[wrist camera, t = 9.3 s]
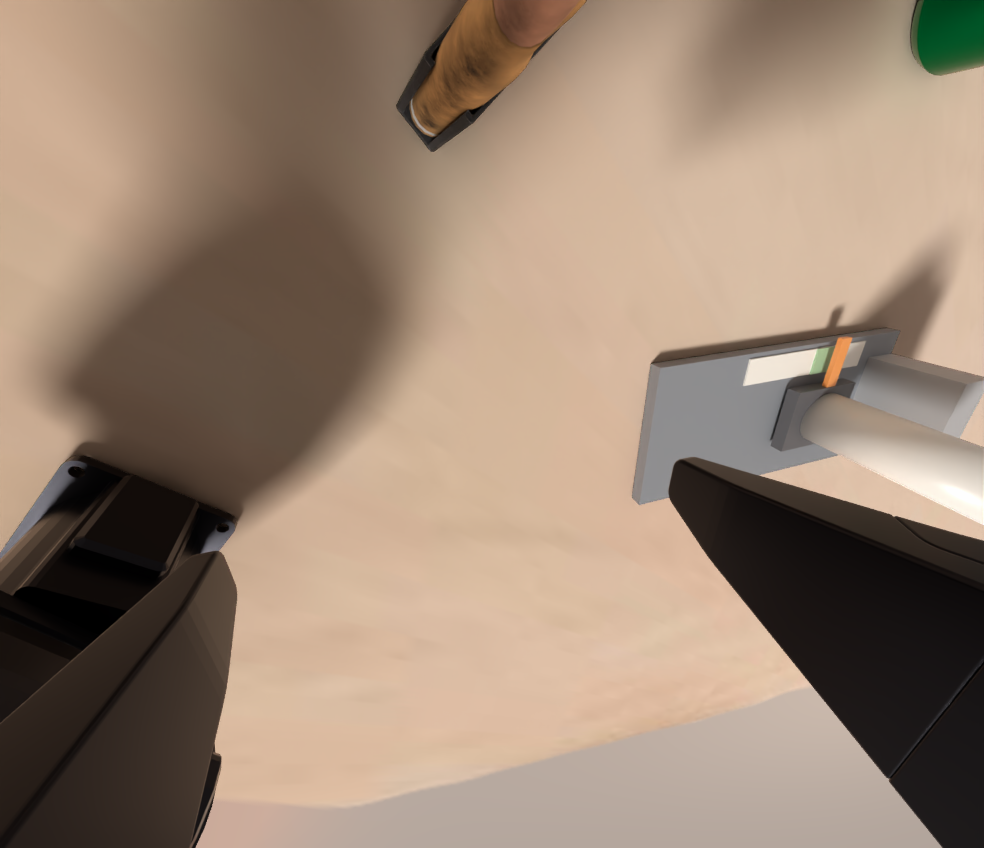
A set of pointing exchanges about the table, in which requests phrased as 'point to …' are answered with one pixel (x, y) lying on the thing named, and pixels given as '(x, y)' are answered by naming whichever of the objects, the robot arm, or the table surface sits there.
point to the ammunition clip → (477, 62)
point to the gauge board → (760, 396)
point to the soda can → (948, 35)
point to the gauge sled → (882, 441)
